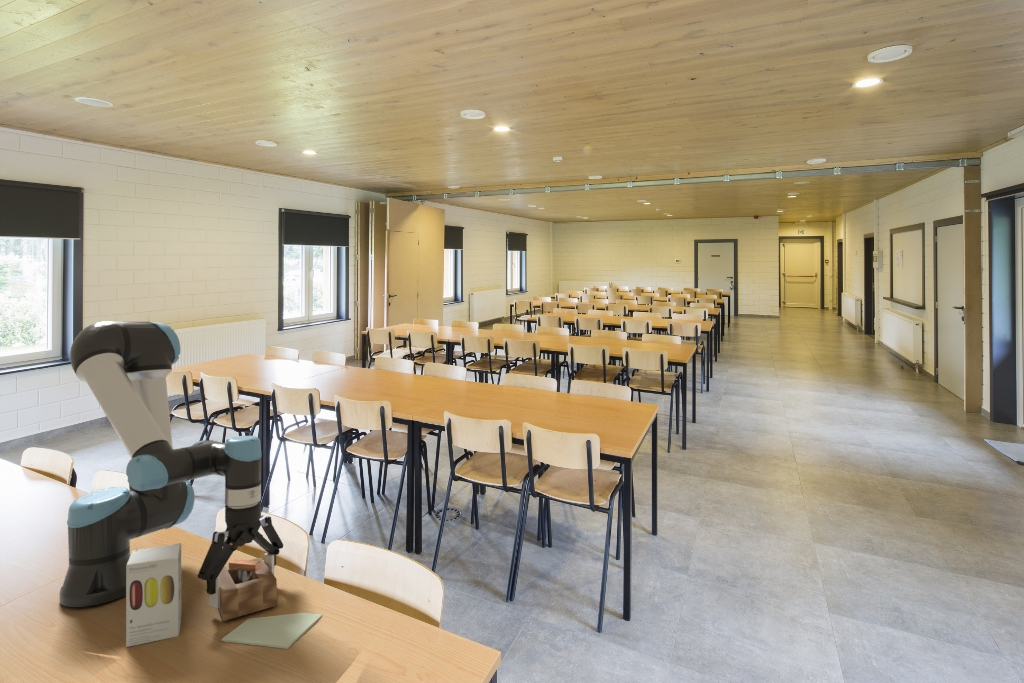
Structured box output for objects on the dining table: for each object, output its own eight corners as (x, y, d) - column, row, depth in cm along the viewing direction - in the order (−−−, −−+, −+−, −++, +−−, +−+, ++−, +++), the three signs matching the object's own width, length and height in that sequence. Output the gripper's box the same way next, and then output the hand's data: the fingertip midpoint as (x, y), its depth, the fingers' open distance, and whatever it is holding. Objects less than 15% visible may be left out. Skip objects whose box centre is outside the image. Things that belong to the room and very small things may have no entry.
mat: (221, 641, 114) (221, 639, 114) (262, 610, 127) (262, 608, 127) (287, 648, 111) (287, 646, 111) (322, 616, 124) (322, 614, 124)
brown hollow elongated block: (223, 621, 119) (222, 593, 119) (212, 594, 132) (211, 569, 132) (277, 605, 126) (276, 578, 126) (261, 581, 139) (260, 557, 139)
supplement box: (124, 648, 112) (123, 565, 111) (131, 627, 120) (130, 549, 120) (180, 636, 116) (179, 556, 116) (182, 616, 124) (181, 541, 124)
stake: (226, 607, 128) (225, 564, 128) (238, 599, 132) (237, 557, 132) (253, 610, 127) (252, 566, 127) (264, 602, 131) (263, 559, 131)
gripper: (202, 523, 116) (202, 622, 116) (298, 492, 139) (298, 575, 139) (179, 517, 119) (179, 614, 120) (276, 488, 142) (276, 569, 142)
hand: (243, 594), depth 129 cm, fingers closed on brown hollow elongated block, 13 cm apart
